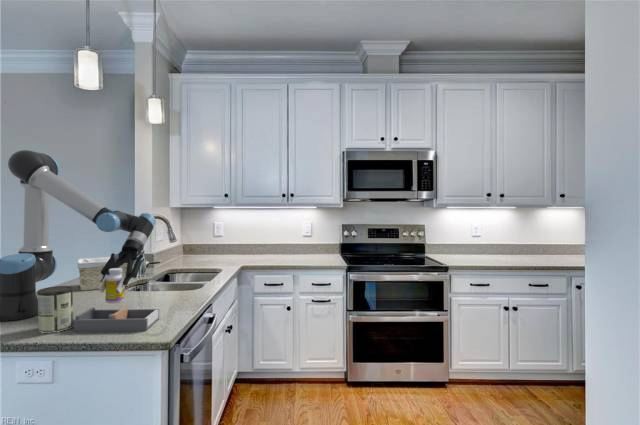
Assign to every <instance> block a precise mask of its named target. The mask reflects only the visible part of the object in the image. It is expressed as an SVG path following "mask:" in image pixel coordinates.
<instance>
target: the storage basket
mask: <svg viewBox="0 0 640 425" xmlns="http://www.w3.org/2000/svg"><path fill="white" fill-rule="evenodd" d="M110 257H111V256H105V257H86V258H85V257H83V258H78V260H76V264H77V268H78V273H79V276H78V278H79V283H80V286H79V287H80V291H84V292H88V291H94V290H99V289H98V288H99V286H100V284H101V280H102V278H103V275H102V274H101V270H102V269H103V268H104V266H105V265H106V263H107V262H108V260H109V259H110ZM115 262H116V261H115ZM120 262H121V261H120ZM119 268H121V269H122V275H125V276H126V274H125V273H126V270H127V263H124V264H123V265H122V266H120V267H119ZM127 286H129V283H128V284H127V285H125V287H127Z"/></svg>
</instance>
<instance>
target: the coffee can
mask: <svg viewBox="0 0 640 425" xmlns="http://www.w3.org/2000/svg"><path fill="white" fill-rule="evenodd" d="M73 290H74V287H73V286H70V285H58V286H57V285H56V286H49V287H44V288H40V289H38V290H36V294H37V298H38V315H37V316H38V319H37V320H38V330H39V332H43V333H50V332H58V331H63V330H66V331H68V330H67V329H69V330H71V329H73V328H74V306H73V305H74V304H73V303H74V301H73V300H74V298H73V296H74V294H73V293H74V292H73ZM72 327H73V328H72ZM70 328H71V329H70ZM39 332H38V333H39ZM63 332H64V331H63ZM43 333H42V334H43ZM58 333H59V332H58ZM50 334H51V333H50Z"/></svg>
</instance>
